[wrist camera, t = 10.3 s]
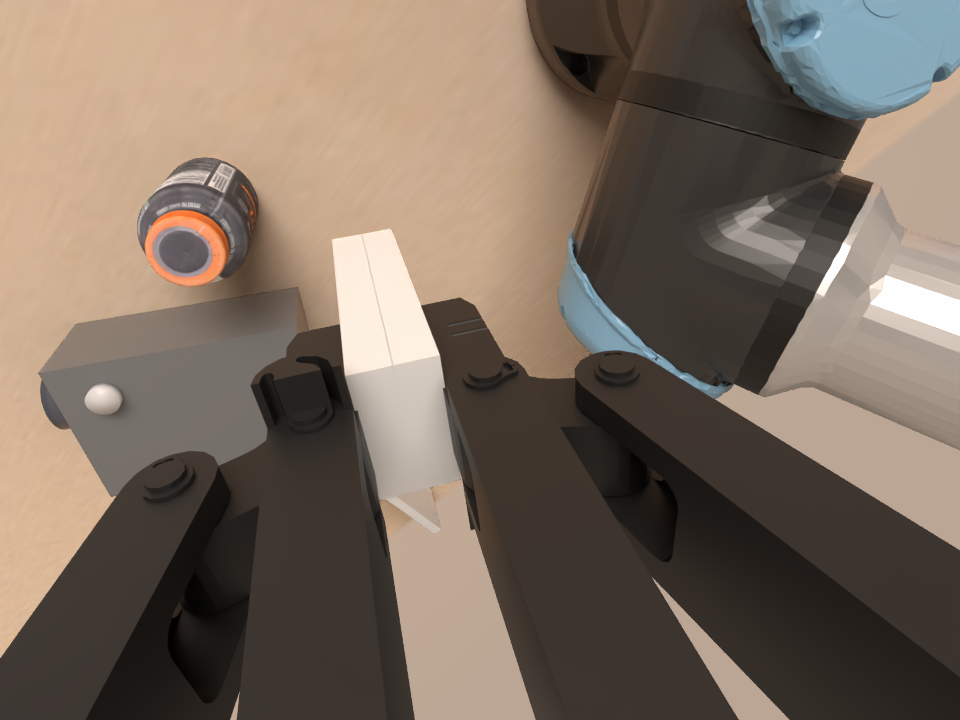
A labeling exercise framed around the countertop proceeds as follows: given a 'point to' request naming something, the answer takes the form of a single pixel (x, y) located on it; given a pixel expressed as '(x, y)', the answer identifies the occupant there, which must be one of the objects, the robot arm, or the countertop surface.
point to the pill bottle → (199, 222)
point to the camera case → (168, 381)
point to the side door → (419, 508)
